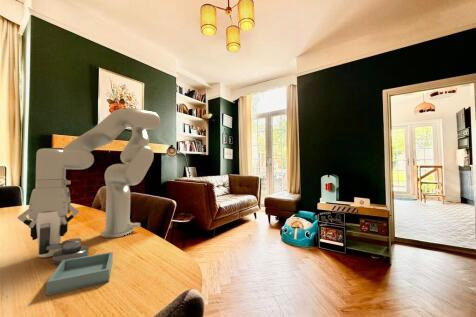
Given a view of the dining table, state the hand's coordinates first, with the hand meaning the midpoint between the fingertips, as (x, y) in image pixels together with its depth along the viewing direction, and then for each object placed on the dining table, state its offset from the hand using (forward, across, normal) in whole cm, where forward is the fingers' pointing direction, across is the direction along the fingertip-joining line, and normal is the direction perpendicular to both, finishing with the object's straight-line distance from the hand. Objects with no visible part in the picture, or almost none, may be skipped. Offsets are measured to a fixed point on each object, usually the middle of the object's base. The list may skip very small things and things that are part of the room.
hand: (49, 236), depth 68 cm
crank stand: (+6, -7, +3) cm, 10 cm away
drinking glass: (+6, 0, 0) cm, 6 cm away
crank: (+4, -4, +6) cm, 9 cm away
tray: (+6, -13, +22) cm, 26 cm away
